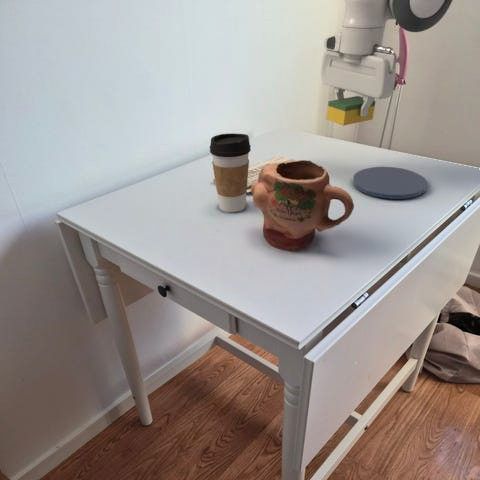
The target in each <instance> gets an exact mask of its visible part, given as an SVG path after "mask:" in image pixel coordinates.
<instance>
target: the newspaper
mask: <svg viewBox="0 0 480 480" xmlns="http://www.w3.org/2000/svg"><path fill="white" fill-rule="evenodd" d="M288 161H298V160H297V159H294V158H290V157H284V156H276V157H273V158H270V159H267V160H265V161H262V162H258V163H256V164H253V165H249V168H248V180H247V191H246V193H250V192H251V187H252V185H253V184H254V183H255V182H256V181H258V177H259V173H260V171H261V170H262V168H264V167H266V166H268V165H270V164H272V163H282V162H288ZM212 180H213V183H214V184H216V182H215V178H213V179H212ZM251 193H252V192H251Z"/></svg>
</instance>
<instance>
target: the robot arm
mask: <svg viewBox="0 0 480 480" xmlns="http://www.w3.org/2000/svg"><path fill="white" fill-rule="evenodd" d="M452 2H453V0H344V3H345V4H344V5H345V12H344V13H345V14H344V18H343V20H342V24H341V31H339V32H337V33H334V34H332V35H330V36H327V37H325V38H324V40H323V48H324V49H325V50H324V52H323V54H322V60H321V68H320V69H321V70H320V79H321V82H322V84H323V85H327V86H330V87H334V91H333V92H334V97H335V100H338V99H344V98H345V94H344V93H345V92H346V91H348V92H351V93H355V94H358V95H362V97H363V100H364V103H363V105H362V107H359V108H358V116H361V117H365V116H367V114H368V108H369V107H370V105H371V104H372V102H373V101H375V99H377V100H383V99H389V98H390V97H391V96H392V94H393V93H394V90H395V82H396V73H397V61H398V57H397V54H396V52H395V51H394V48H393V47H390V46H383V42H384V34H385V30H386V23H387V22H388V21H389V20H395V22H396V23H397V25H398V26H399V27H400V28H401V29H402V30H405V31H406V32H410V33H420V32H421V33H422V32H425V31H427V30H430V29H431V28H433V27H434V26H435V25H436V24H438V23H439V22H440V21H441V20H442V19H443V17H445V15H446V14H447V12H448V10H449V8H450V7H451V4H452Z"/></svg>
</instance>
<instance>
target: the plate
mask: <svg viewBox="0 0 480 480" xmlns="http://www.w3.org/2000/svg"><path fill="white" fill-rule="evenodd" d="M352 184H353V186H354V188H356V189H357V190H358V191H359V192H361V193H364V194H366V195H368V196H372V197H376V198H381V199H389V200H403V199H411V198H415V197H416V198H417V197H418V196H421V195H423V194H424V193H425V192H426V191H427V188H428V181H427V179H426V178H425V177H424V176H423V175H421V174H420V173H417V172H414V171H413V170H410V169H405V168H400V167H394V166H373V167H372V166H371V167H367V168H363V169H361V170H358V171H357V172H355V173H354V175H352Z"/></svg>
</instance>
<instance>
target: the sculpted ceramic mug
mask: <svg viewBox="0 0 480 480" xmlns="http://www.w3.org/2000/svg"><path fill="white" fill-rule="evenodd" d="M330 178H331V177H330V175H329V173H328V171H327V169H326V168H325V167H323V166H322V165H320V164H317V163H315V162H313V161H311V160H307V159H301V160H297V161H288V162H282V163H272V164H270V165H268V166H266V167H264V168H262V170H261V171H260V173H259V177H258V181H256V182H255V183H254V184H253V185H252V187H251V194H252V202H253V204H254V206H255V207H256V208H257V209H258V210H260V211H261V213H262V216H263V226H262V235H263V237H264V239H265V241H266V242H267V244H268V245H270V246H272V247H274V248H277V249H280V250H284V251H291V252H292V251H299V250H303V249H304V248H306V247H308V246H309V245H310V244H311V243H312V242H313V240H314V238H315V234H316V231H317V232H320V233H321V232H324V231H326V230H330V229H333V228H335V227H337V226H339V225H341V223H343V222H345V221H346V220H348V219H349V218H350V217H351V216H352V214H353V211H354V208H355V205H354V204H355V203H354V201H353V198H352V196H351V195H350V194H349V192H348V191H346V190H345V189H343V188H341V187H339V186H333V185H331V183H330V181H331V179H330ZM333 200H337V201H339V202H341V203H342V204H343V206H344V207H343V208H344V214H343V215H342V216H340V217H338V218H336V219H332V218H330V217H329V210H330V206H331V202H332V201H333Z"/></svg>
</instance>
